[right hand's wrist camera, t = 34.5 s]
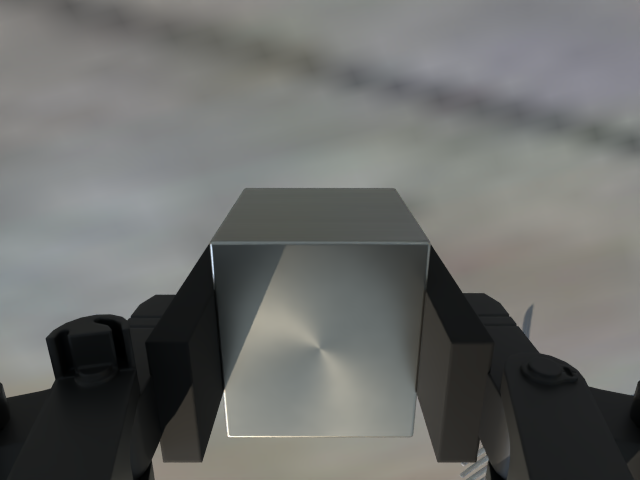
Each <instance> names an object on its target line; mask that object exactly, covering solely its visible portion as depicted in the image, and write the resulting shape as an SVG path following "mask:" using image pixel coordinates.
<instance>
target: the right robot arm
mask: <svg viewBox="0 0 640 480" xmlns="http://www.w3.org/2000/svg"><path fill="white" fill-rule="evenodd" d="M46 342H47V346H48V350H49V355H50V359H51V363H52V367H53V371H54V375H55V379H56V380H55V382H54V384H53V386H52V388H51V389H47V390H44V391H39V392H34V393H29V394H24V395H19V396H14V397H9V398H6V396H5V392H4V389H3V385H2V384H1V383H0V480H155V479H154V472H153V465H152V458H153V455H154V453H155V451H156V449H157V446H158V444H159V442H160V444H161V450H162V457H163V462H202V461H203V457H204V454H205V451H206V448H207V444H208V441H209V438H210V434H211V431H212V428H213V424H214V421H215V418H216V415H217V411H218V408H219V405H220V401H221V398H222V395H223V385H222V374H221V363H220V351H219V340H218V329H217V318H216V306H215V295H214V287H213V276H212V265H211V254H210V243H209V245H208V246H207V248H206V249H205V251H204V253H203V254H202V256H201V257H200V259H199V260H198V262H197V263H196V265H195V266H194V268H193V269H192V271H191V272H190V274H189V276H188V277H187V279H186V280H185V282H184V283H183V285H182V286H181V288H180V289H179V291H178V292H177V294H176V295H155V296H153V297H151V298H150V299H148V300H146V301H145V302H143V303H142V304H140V305H139V306H138V308H137V309H136V310H135V311H134V313H133V314H132V315H131V318H129V319H128V320H126V319H124V318H123V317H120V316H116V315H111V314H108V315H93V316H87V317H82V318H79V319H76V320H73V321H70V322H68V323H65V324H64V325H62V326H60V327H58V328H57V329H55V330H53V331H52V332H51V333H50V334H49V335H48V336H47V337H46ZM417 396H418V399H419V402H420V406H421V409H422V412H423V416H424V419H425V422H426V426H427V429H428V432H429V435H430V439H431V442H432V445H433V449H434V452H435V455H436V459H437V462H476V461H477V455H478V448H479V442H480V440H481V442H482V445H483V447H484V449H485V452H486V454H487V456H488V458H489V459H488V465H487V471H486V478H485V480H640V381H639V382H638V384H637V387H636V391H635V394H634V396H631V395H626V394H621V393H616V392H611V391H606V390H601V389H596V388H593V387H589V386H588V385H587V383H586V381H585V379H584V378H583V376H582V375H581V374H580V373H579V371H578V370H577V369H575V368H574V367H572V366H571V365H569V364H568V363H566V362H565V361H562V360H560V359H557V358H555V357H552V356H549V355H545V354H540V353H539V352H538V351H537V349H536V348H535V347H534V346H533V344H532V343H531V342H530V340H529V339H528V338H527V337H526V335H525V334H524V333H523V332H522V330H521V329H520V328H519V327H518V326H516V323H515V321H514V320H513V319H512V318H511V317H509V314H508V313H507V311H506V310H505V309H504V307H503V306H502V305H501V304H500V303H499V302H497V301H496V300H494V299H493V298H491V297H489V296H488V295H486V294H484V293H462V291H461V290H460V288H459V287H458V285H457V284H456V282H455V281H454V279H453V278H452V276H451V275H450V273H449V271H448V270H447V268H446V267H445V265H444V264H443V262H442V261H441V259H440V258H439V256H438V255H437V253H436V252H435V250H434V248H433V247H432V245H431V246H430V257H429V268H428V279H427V289H426V293H425V304H424V315H423V327H422V338H421V349H420V360H419V371H418V382H417Z"/></svg>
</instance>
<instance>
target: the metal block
mask: <svg viewBox="0 0 640 480" xmlns="http://www.w3.org/2000/svg"><path fill="white" fill-rule="evenodd" d="M430 246H431V243H430V241H429V239H428V238H427V236H426V235H425V233H424V232H423V230H422V229H421V227H420V226H419V224H418V223H417V221H416V220H415V218H414V217H413V215H412V214H411V212H410V210H409V209H408V207H407V206H406V204H405V203H404V201H403V200H402V198H401V197H400V195H399V194H398V192H397V191H396V189H394V188H246V189H244V190H243V192H242V193H241V195H240V196H239V198H238V200H237V201H236V203H235V204H234V206H233V207H232V209H231V210H230V212H229V213H228V215H227V217H226V218H225V220H224V221H223V223H222V224H221V226H220V227H219V229H218V230H217V232H216V234H215V235H214V237H213V238H212V240H211V241H210V254H211V265H212V276H213V287H214V295H215V306H216V318H217V329H218V340H219V351H220V363H221V374H222V385H223V400H224V411H225V422H226V433H227V436H228V437H412V436H413V431H414V420H415V409H416V398H417V382H418V371H419V360H420V349H421V338H422V327H423V315H424V304H425V293H426V289H427V279H428V268H429V257H430Z"/></svg>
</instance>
